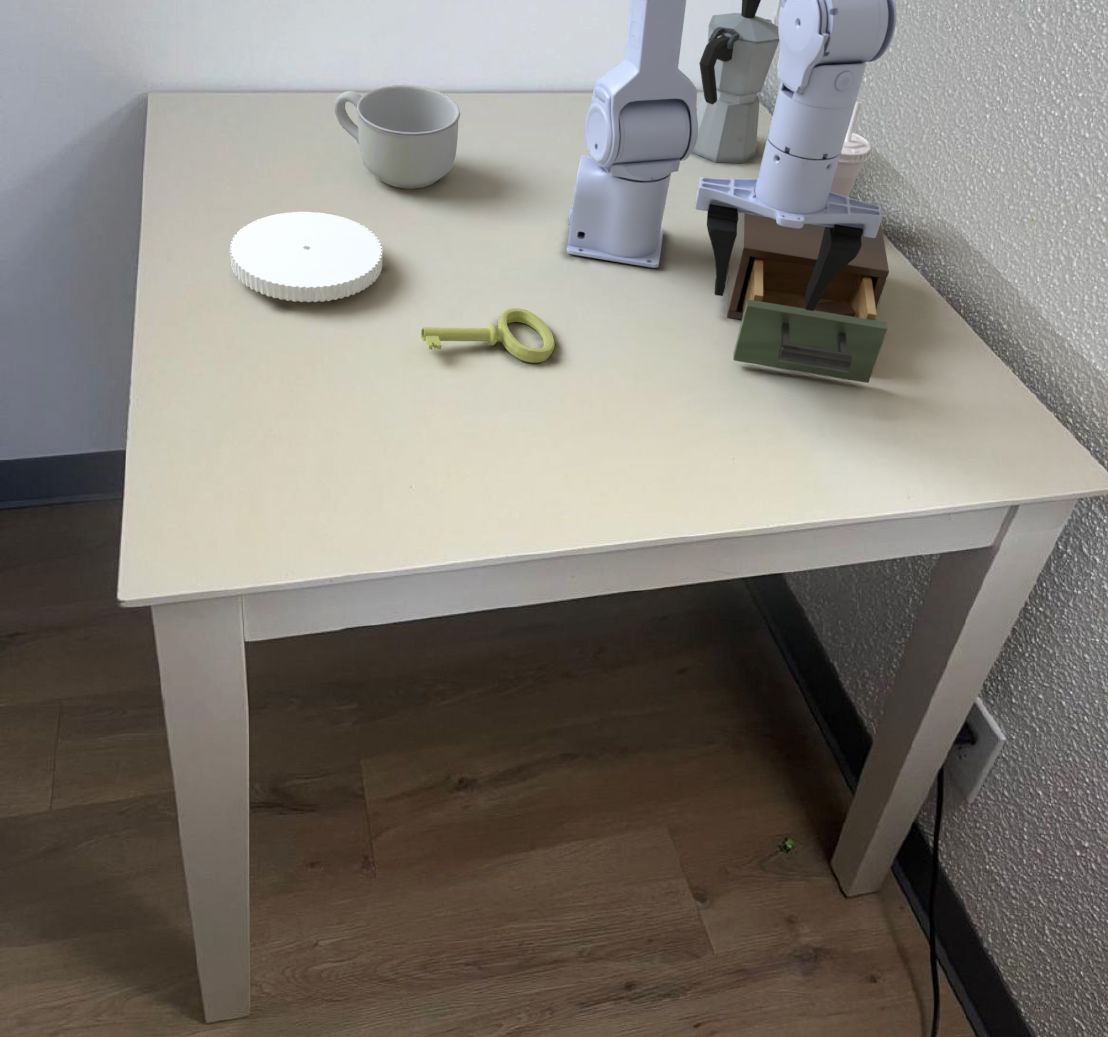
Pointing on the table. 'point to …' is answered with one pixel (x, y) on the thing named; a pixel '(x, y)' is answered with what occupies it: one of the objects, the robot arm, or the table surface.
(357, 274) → the white gear
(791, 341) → the drawer
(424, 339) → the key
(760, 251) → the cabinet
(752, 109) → the coffee maker
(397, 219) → the table surface
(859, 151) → the smoothie
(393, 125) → the teacup
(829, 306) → the knife
